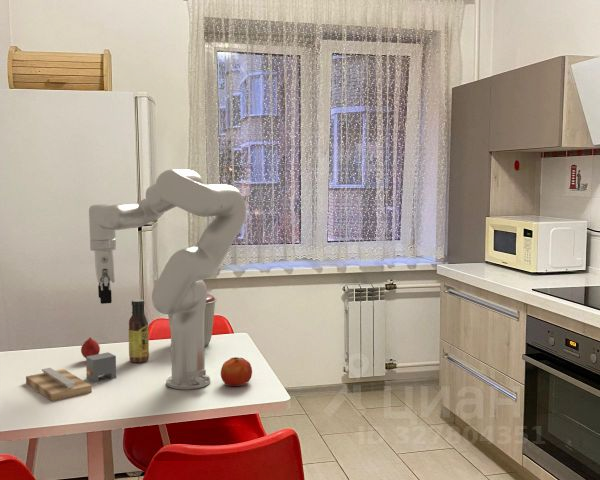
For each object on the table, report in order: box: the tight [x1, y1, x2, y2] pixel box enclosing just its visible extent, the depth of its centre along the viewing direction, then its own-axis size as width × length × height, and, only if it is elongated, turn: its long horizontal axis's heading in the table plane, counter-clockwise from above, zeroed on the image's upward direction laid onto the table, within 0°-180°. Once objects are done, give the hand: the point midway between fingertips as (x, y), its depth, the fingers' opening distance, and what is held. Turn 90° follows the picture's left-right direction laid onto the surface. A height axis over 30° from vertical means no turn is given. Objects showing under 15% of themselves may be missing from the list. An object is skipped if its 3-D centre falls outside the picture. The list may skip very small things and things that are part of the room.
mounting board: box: [25, 368, 92, 402], centre depth 185 cm, size 20×11×2 cm, turn 41°
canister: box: [167, 293, 218, 347], centre depth 229 cm, size 18×18×21 cm
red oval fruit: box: [80, 336, 101, 359], centre depth 211 cm, size 6×6×8 cm
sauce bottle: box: [128, 299, 150, 363], centre depth 210 cm, size 6×6×20 cm
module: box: [85, 352, 117, 383], centre depth 193 cm, size 5×8×7 cm, turn 131°
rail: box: [41, 367, 75, 389], centre depth 185 cm, size 18×2×2 cm, turn 41°
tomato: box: [220, 357, 253, 387], centre depth 188 cm, size 9×9×8 cm
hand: (105, 300), depth 200 cm, fingers open, 9 cm apart
